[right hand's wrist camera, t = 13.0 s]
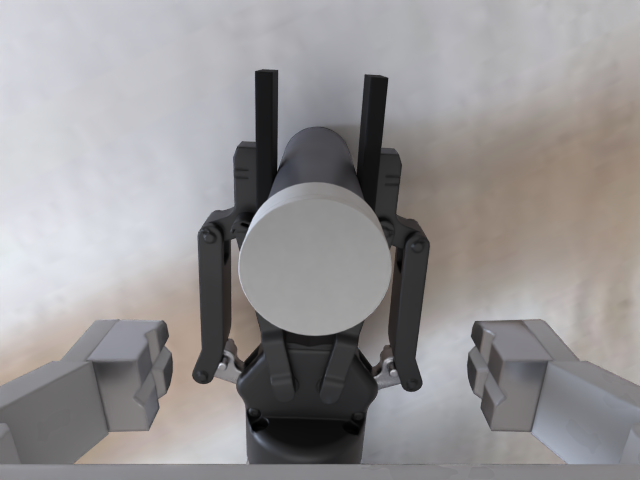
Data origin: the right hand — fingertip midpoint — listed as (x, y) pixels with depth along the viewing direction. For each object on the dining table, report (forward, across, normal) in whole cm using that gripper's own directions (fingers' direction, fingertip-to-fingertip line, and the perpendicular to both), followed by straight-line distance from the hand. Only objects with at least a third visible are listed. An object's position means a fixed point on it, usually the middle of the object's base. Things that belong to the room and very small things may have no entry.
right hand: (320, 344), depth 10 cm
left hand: (+13, 0, -6) cm, 14 cm away
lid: (+4, 0, 0) cm, 4 cm away
